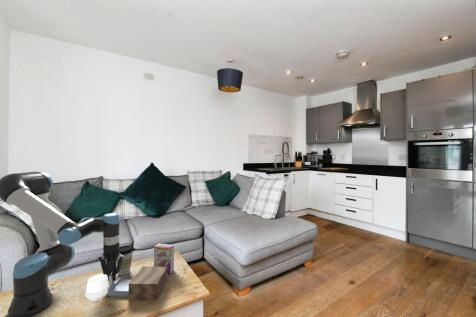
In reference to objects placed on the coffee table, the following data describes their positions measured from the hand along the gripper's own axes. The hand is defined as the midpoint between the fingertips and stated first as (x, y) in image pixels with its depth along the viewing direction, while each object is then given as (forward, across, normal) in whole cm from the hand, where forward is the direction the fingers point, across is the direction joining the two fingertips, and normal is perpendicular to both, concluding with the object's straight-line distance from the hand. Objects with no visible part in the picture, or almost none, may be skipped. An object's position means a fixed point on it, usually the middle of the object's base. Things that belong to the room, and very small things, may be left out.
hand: (111, 286), depth 114 cm
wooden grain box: (+2, +20, 0) cm, 20 cm away
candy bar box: (+2, +22, +18) cm, 28 cm away
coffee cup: (+2, -2, +17) cm, 17 cm away
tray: (+2, +8, 0) cm, 8 cm away
